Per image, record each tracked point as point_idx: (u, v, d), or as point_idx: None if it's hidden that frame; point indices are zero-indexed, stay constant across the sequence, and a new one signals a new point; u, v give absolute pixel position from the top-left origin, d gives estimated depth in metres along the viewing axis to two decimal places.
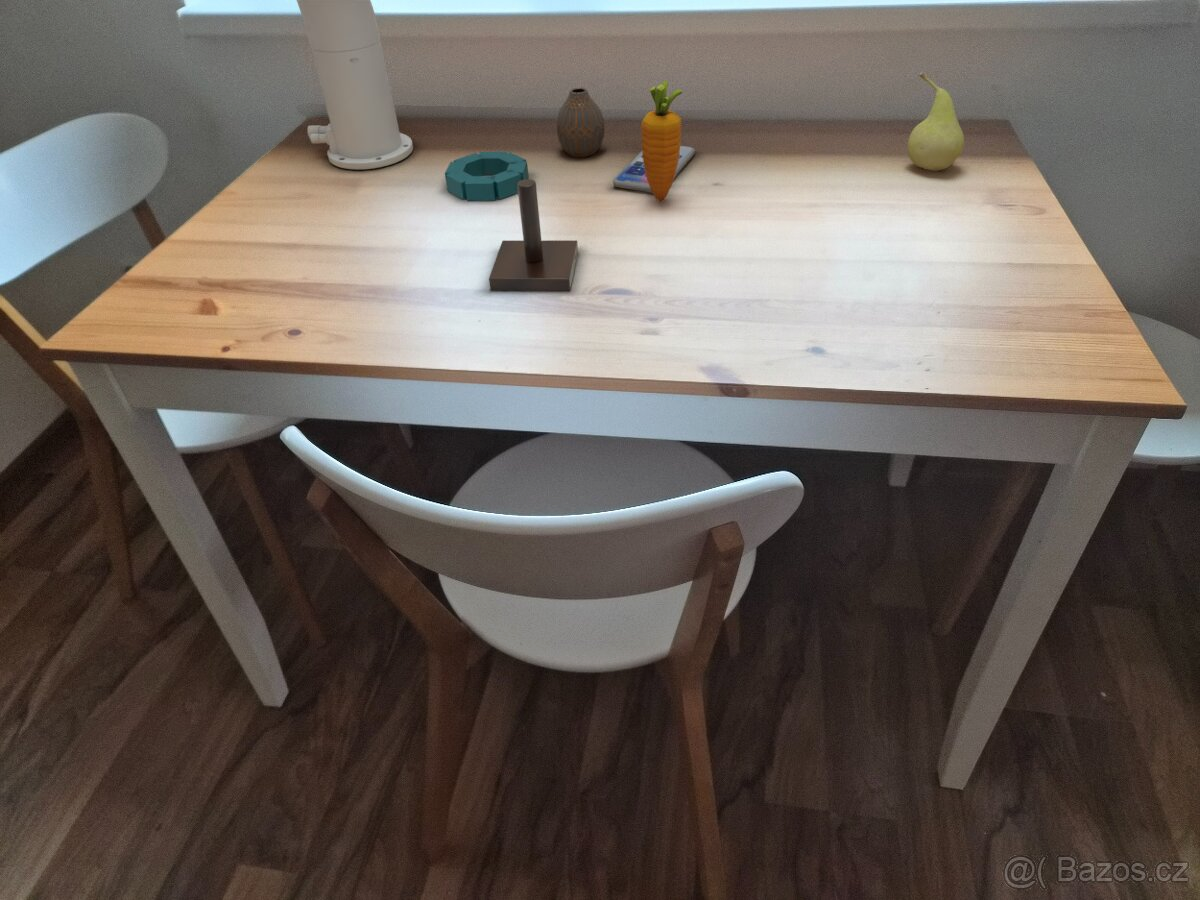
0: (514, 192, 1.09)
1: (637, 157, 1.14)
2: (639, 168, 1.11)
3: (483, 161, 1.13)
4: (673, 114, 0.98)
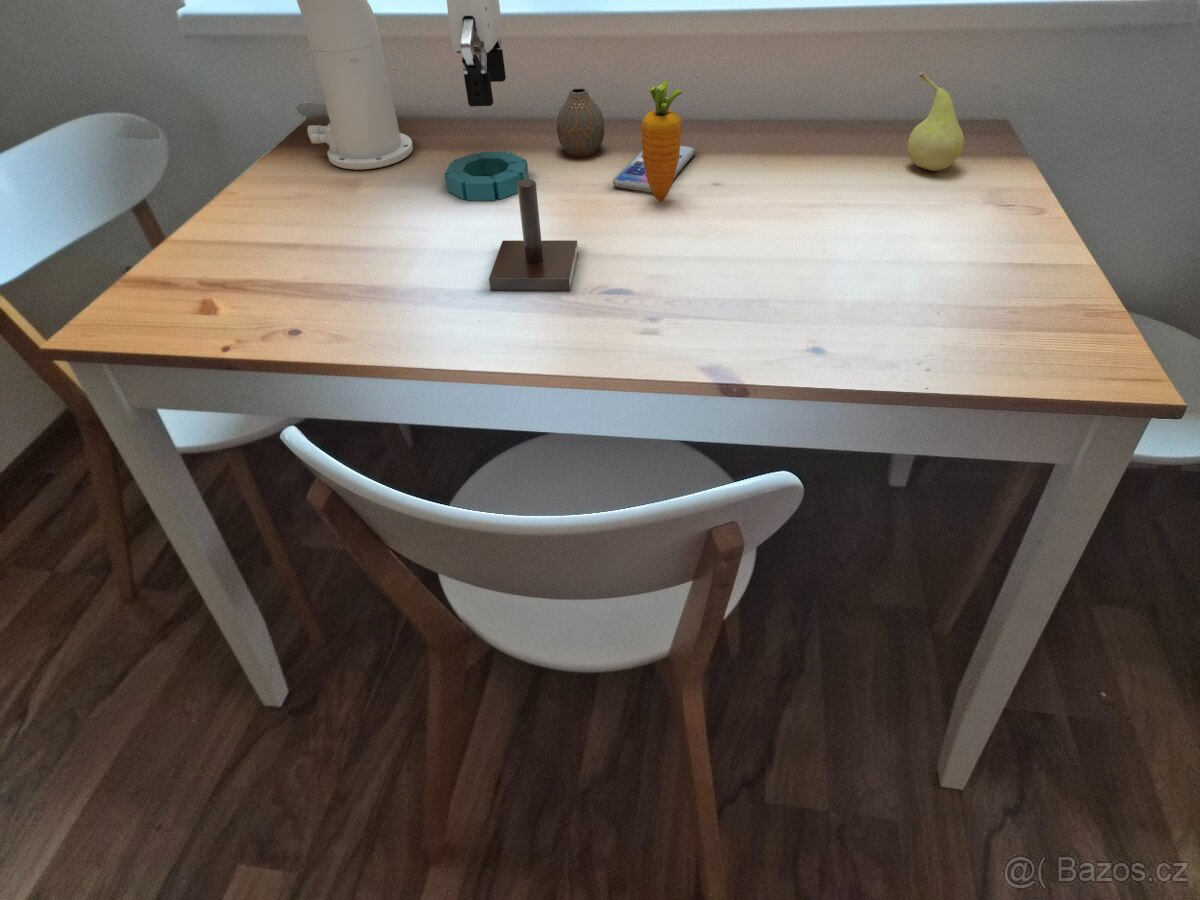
0: (514, 192, 1.09)
1: (637, 157, 1.14)
2: (639, 168, 1.11)
3: (483, 161, 1.13)
4: (673, 114, 0.98)
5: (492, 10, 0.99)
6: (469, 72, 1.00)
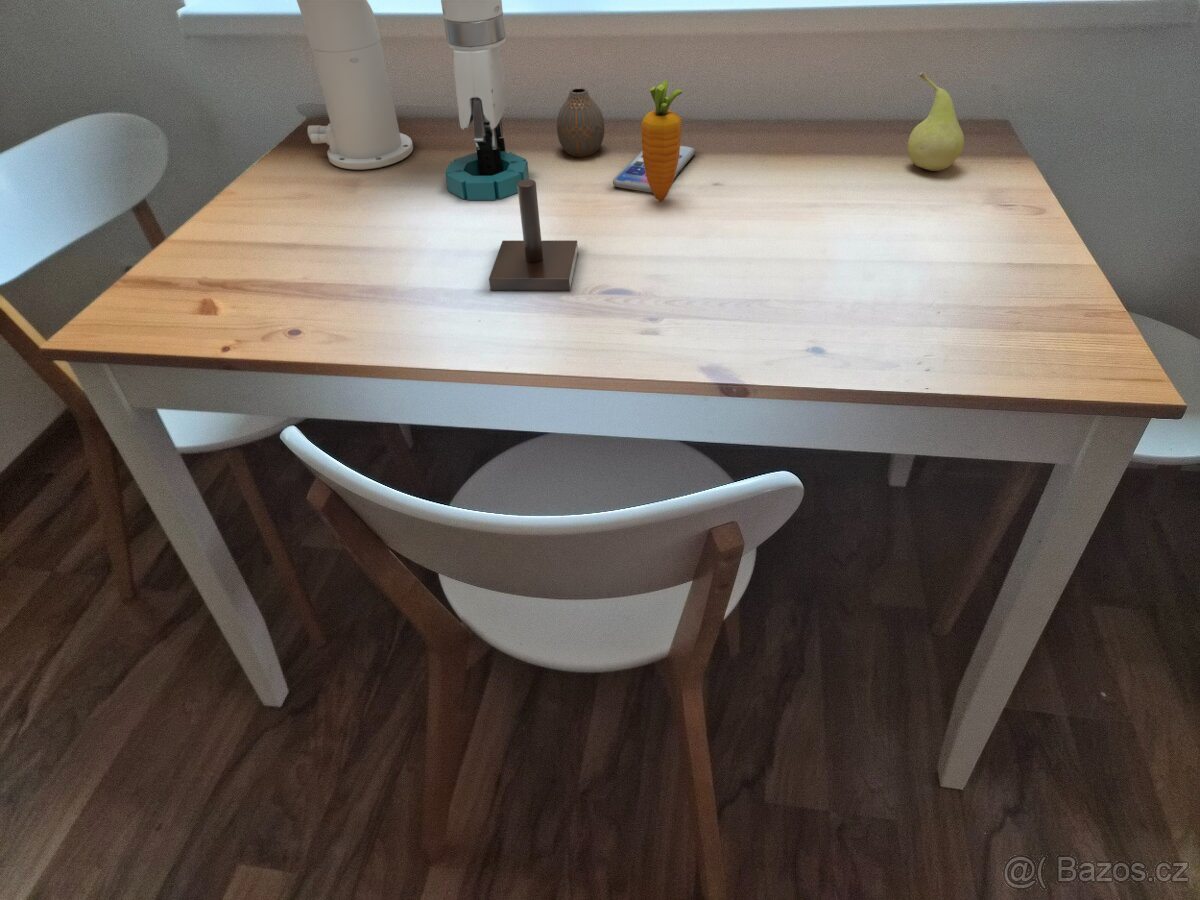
0: (514, 192, 1.09)
1: (637, 157, 1.14)
2: (639, 168, 1.11)
3: None
4: (672, 114, 0.98)
5: (498, 90, 1.06)
6: (481, 148, 1.10)
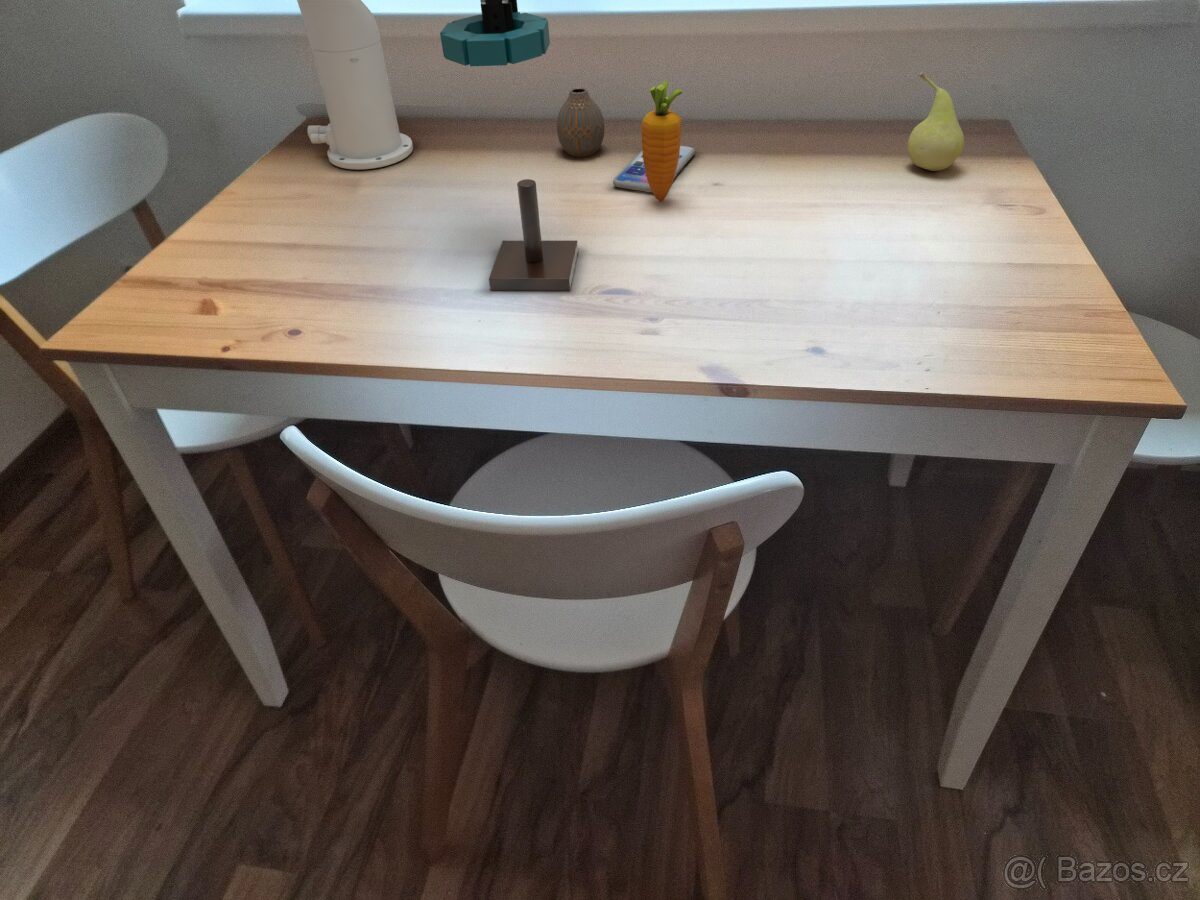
0: (532, 56, 0.82)
1: (637, 157, 1.14)
2: (639, 168, 1.11)
3: None
4: (673, 114, 0.98)
5: None
6: (487, 1, 0.83)
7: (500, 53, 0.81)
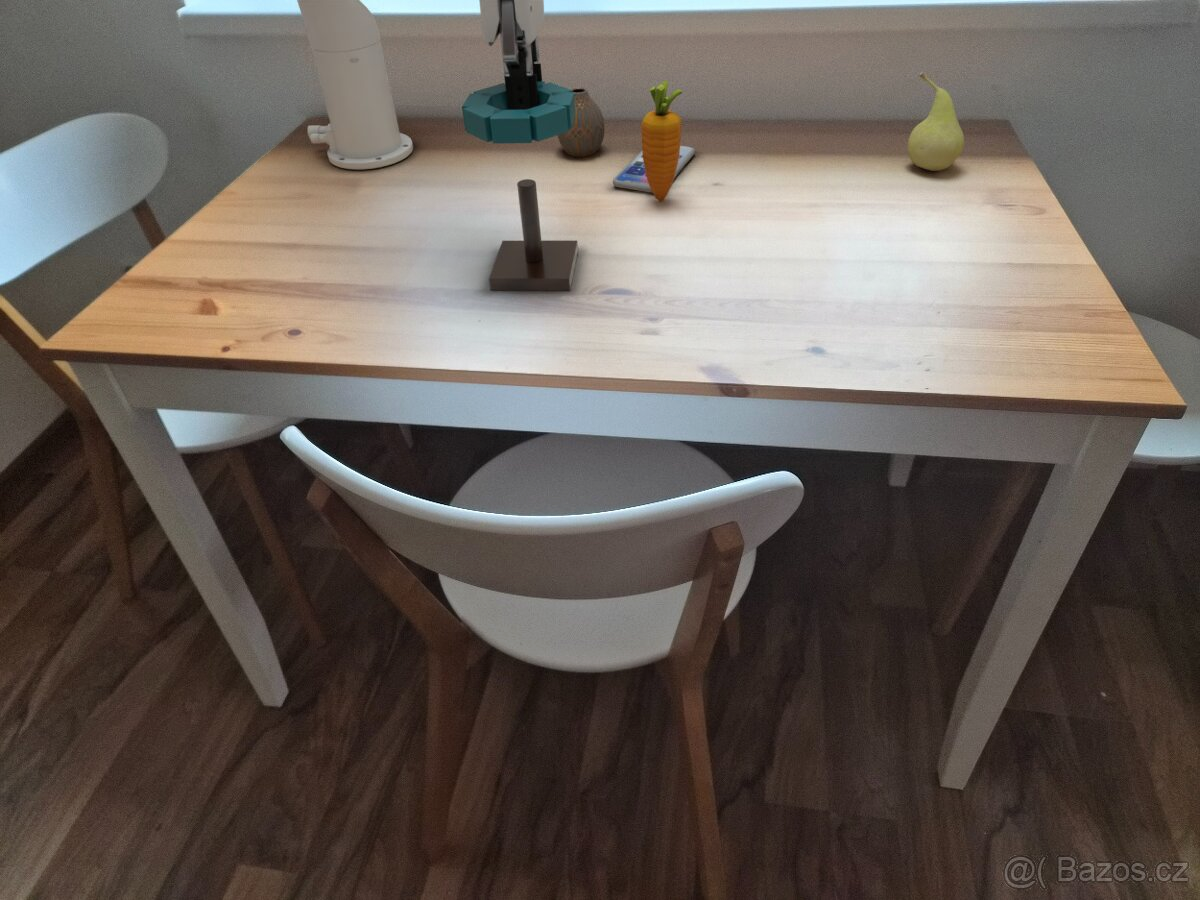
0: (557, 132, 0.79)
1: (637, 157, 1.14)
2: (639, 168, 1.11)
3: None
4: (673, 114, 0.98)
5: None
6: (512, 74, 0.80)
7: (525, 131, 0.77)
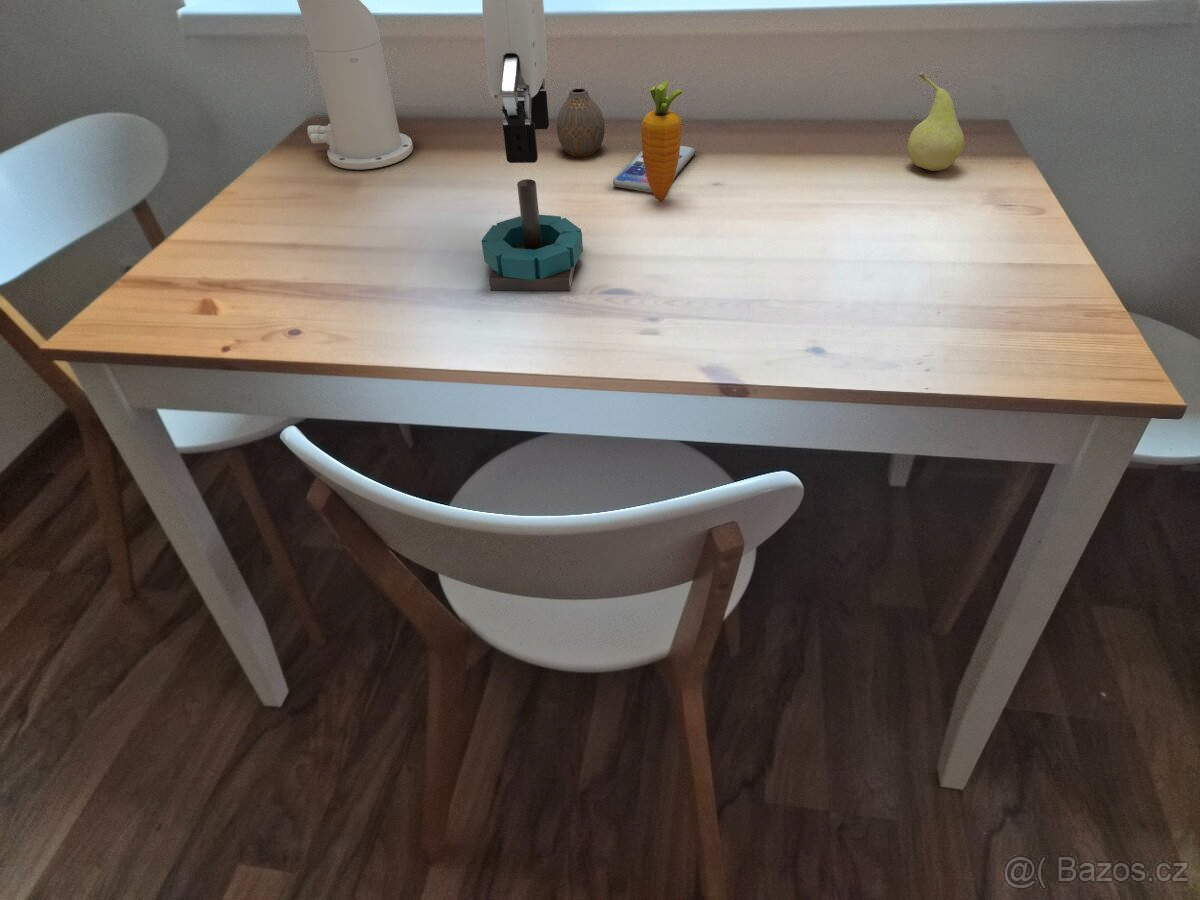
0: (560, 271, 0.89)
1: (637, 157, 1.14)
2: (639, 168, 1.11)
3: None
4: (673, 114, 0.98)
5: (540, 45, 0.79)
6: (510, 123, 0.80)
7: (530, 270, 0.88)
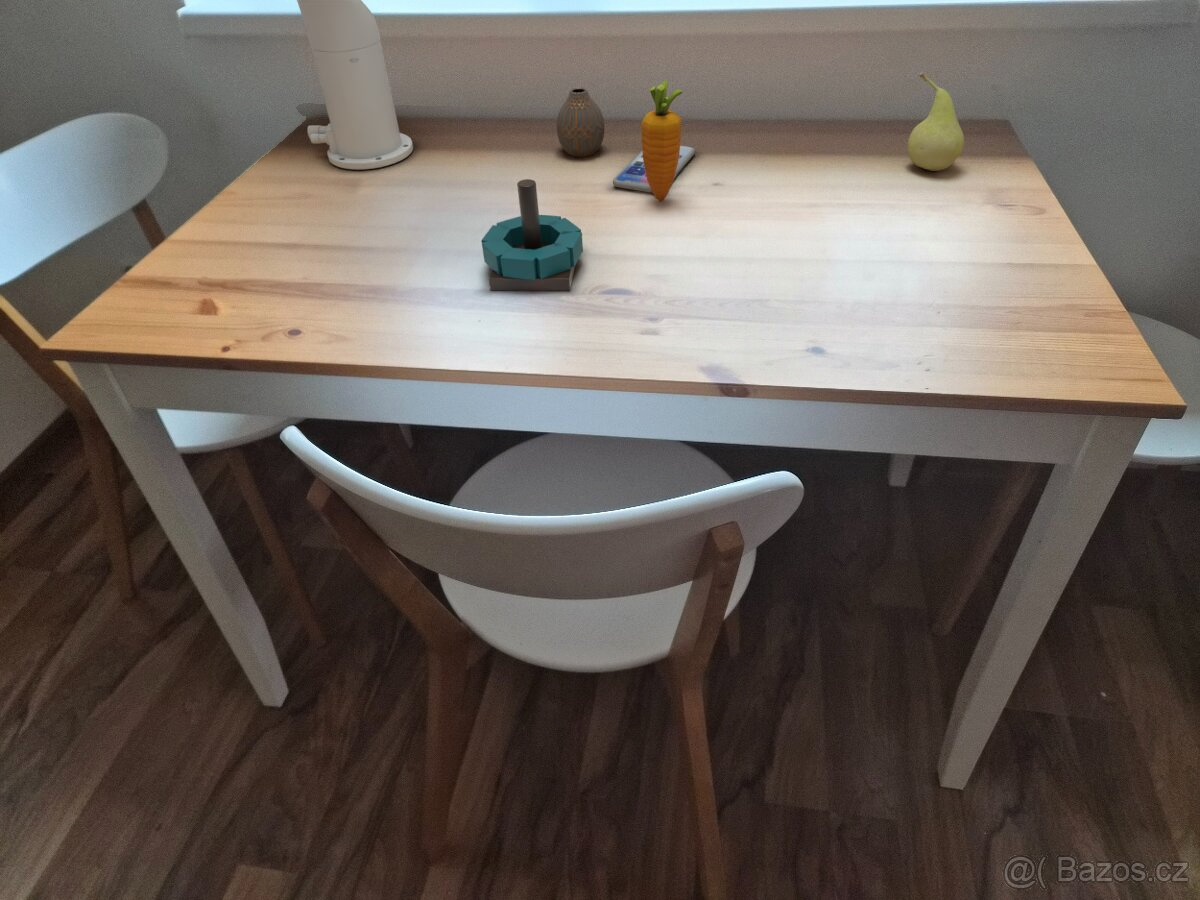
0: (560, 271, 0.89)
1: (637, 157, 1.14)
2: (639, 168, 1.11)
3: None
4: (673, 114, 0.98)
5: None
6: None
7: (530, 270, 0.88)
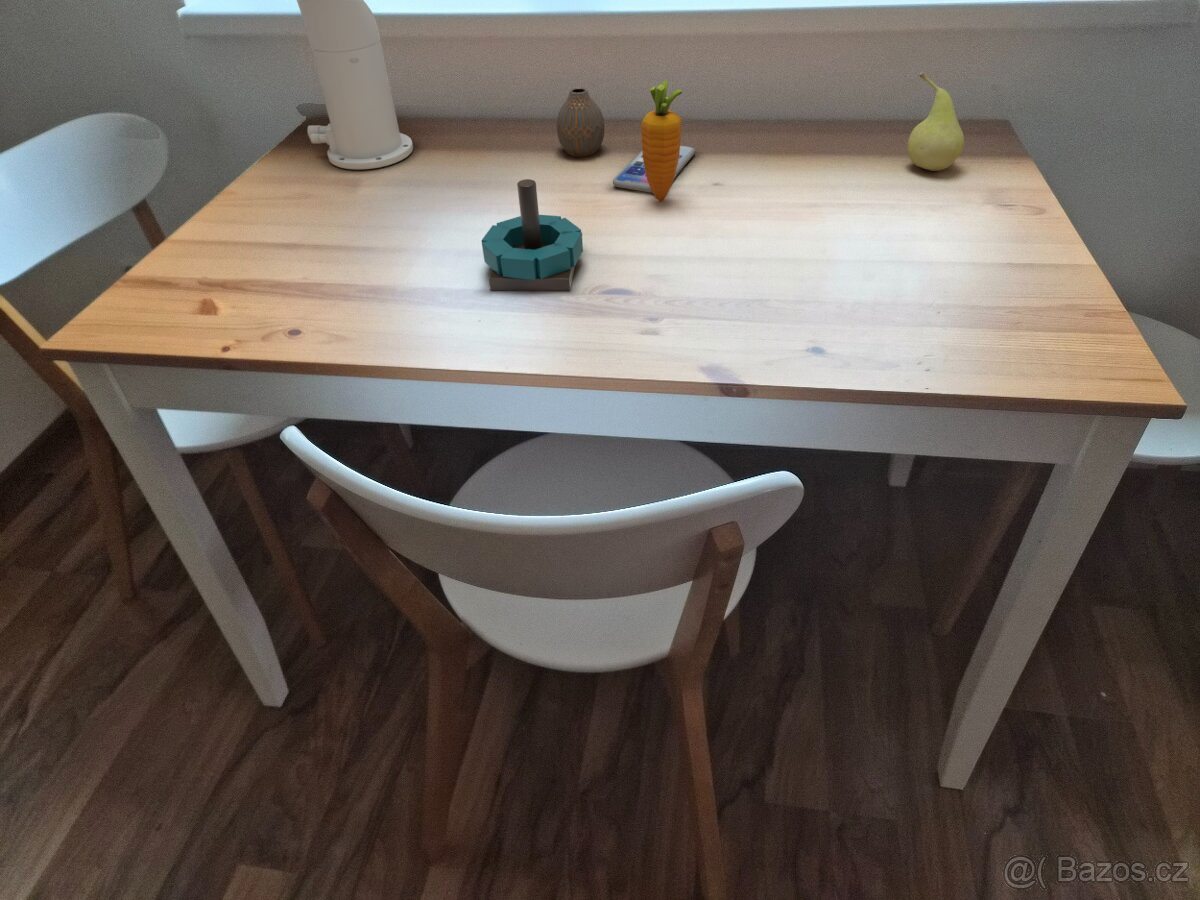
0: (560, 271, 0.89)
1: (637, 157, 1.14)
2: (639, 168, 1.11)
3: None
4: (673, 114, 0.98)
5: None
6: None
7: (530, 270, 0.88)
